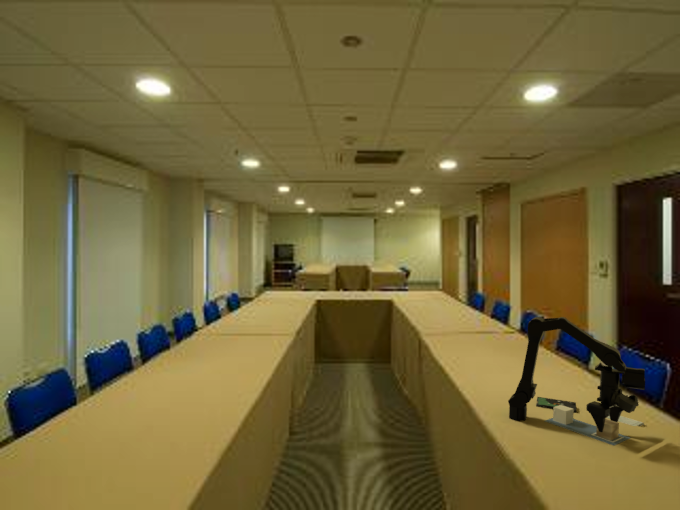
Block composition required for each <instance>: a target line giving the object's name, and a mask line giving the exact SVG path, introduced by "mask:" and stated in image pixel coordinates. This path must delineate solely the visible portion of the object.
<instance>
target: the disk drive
mask: <svg viewBox="0 0 680 510" xmlns="http://www.w3.org/2000/svg"><path fill="white" fill-rule="evenodd" d="M559 405H563V406H566V407H569V408H573V409H574V413H576V414H577V402H575V401H567V400H563V399H555V398H549V397H541V396H537V398H536V405H535V406H536V407H538V408H544V409H550V410H553V407H556V406H559ZM574 413H573V414H574Z"/></svg>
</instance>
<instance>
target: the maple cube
mask: <svg viewBox="0 0 680 510" xmlns="http://www.w3.org/2000/svg"><path fill="white" fill-rule="evenodd" d="M619 427H620V422H614V421H611V420H610V419H608V418H606V419H605V424H604V429H603V432H599V430H598V428H597V431H596V435H597V436H600V437H603V438H606V439H608V440H613V439H616V438H618V435H619V434H620V433H619V430H620V429H619Z"/></svg>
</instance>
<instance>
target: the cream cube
mask: <svg viewBox="0 0 680 510" xmlns="http://www.w3.org/2000/svg"><path fill="white" fill-rule="evenodd" d="M552 410H553V413H552V418H553V421H556V422H559V423H562V424H565V425H567V424H569V423H572V422H573V419H574V409H573V408H569V407H566V406H563V405H559V406H556V407H553V409H552Z"/></svg>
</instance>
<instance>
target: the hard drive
mask: <svg viewBox="0 0 680 510" xmlns="http://www.w3.org/2000/svg"><path fill="white" fill-rule="evenodd" d="M606 419H608V420H610V416H608V417H607V418H606ZM618 423H622V424H625V425H629V426H633V427H636V426H637V427H640V426H641V427H643V426H645V423H644V422H642V421H640V420H636V419H633V418H631V417H630V418H629V417H626V416H623V415H620V417H619V420H618ZM642 425H643V426H642Z"/></svg>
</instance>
